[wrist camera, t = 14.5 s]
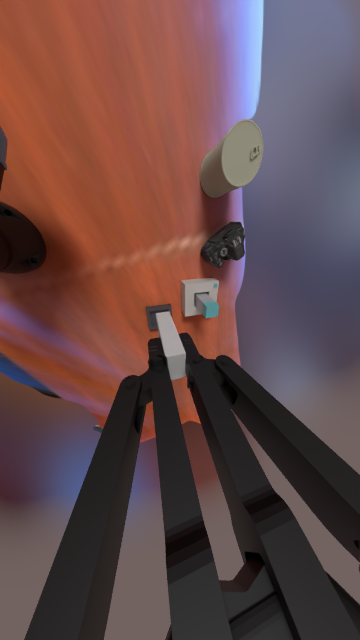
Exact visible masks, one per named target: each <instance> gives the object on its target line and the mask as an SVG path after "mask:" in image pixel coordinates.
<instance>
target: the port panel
mask: <svg viewBox="0 0 360 640" xmlns="http://www.w3.org/2000/svg"><path fill="white" fill-rule="evenodd" d="M218 285H219V281H218V280H216V279H214V278H213V277H212V278H202V279H192V280H181V300H182V312H183V314H184V316H185V317H186V316H193V315H200V314H202V313H201V312H200V310H199V309H198V308H197V307H196V305H195V304H194V293H201V292H205V293H206V294H208V295H209V296H210V297H211V298H212V299H213V300H214V301H215V302H216V301H217V293H218Z"/></svg>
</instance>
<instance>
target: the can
mask: <svg viewBox="0 0 360 640" xmlns="http://www.w3.org/2000/svg"><path fill="white" fill-rule="evenodd" d="M262 156H263V138H262V134H261V131H260V129H259V127H258V126H257V124H256V123H255V122H253V121H252V120H249V119H243V120H240V121H238V122H237V123H236V124H234V125H233V126H232V128H231V129H230V130H229V132H228V133H227V134H226V135H225V136H224V138H223V139H222V140H221V141H220V142H219V143H218V144H217V145H216V146H215V148H214V149H213V150H212V151H210V152H209V153H208V154H207V155H206V156H205V158H204V160H203V162H202V165H201V169H200V182H201V186H202V189H203V191H204V192H205V193H206V194H207V195H208V196H209V197H212V198H218V197H220V196H222V195H223V194H225V193H228V192H230V191H232V190H235V189H237V188H239V187H243V186H245V185H247V184H248V183H249V182H251V180H252V179H253V178H254V177H255V175H256V174H257V172H258V170H259V167H260V164H261V161H262Z"/></svg>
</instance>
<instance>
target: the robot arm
mask: <svg viewBox="0 0 360 640" xmlns="http://www.w3.org/2000/svg"><path fill="white" fill-rule="evenodd" d="M6 153H7V138H6V136H5V134H4V132H3V130H2V128H1V127H0V190H1V184H2V179H3V174H4V170H7V165H6V163H5V161H6ZM45 257H46V247H45V243H44V240H43V238H42V236H41V234H40V232H39V231H38V229H37V228H36V227H35V226H34V224H33V223H32V222H31V221H30V220H29V219H28V218H27V217H26V216H24V215H23V214H22V213H21V212H19V211H18V210H16V209H15V208H13V207H11V206H9V205H7V204H5V203H3V202H0V272H3V273H26V272H29V271H32V270H35V269H37V268H38V267H40V266H41V265H42V263H43V262H44V260H45ZM156 319H157V327H158V334H159V338H154V339H150V340H149V342H148V350H149V360H148V364H149V369H148V370H147V371H146V372H145V373H144V374H142V375H140V376H136V375H131V376H128V377H126V378H125V379H123V380H122V382H121V384H120V386H119V389H118V391H117V394H116V397H115V399H114V402H113V405H112V407H111V410H110V413H109V415H108V418H107V421H106V423H105V426H104V429H103V431H102V434H101V437H100V439H99V442H98V445H97V447H96V450H95V453H94V455H93V458H92V461H91V464H90V466H89V469H88V472H87V474H86V477H85V479H84V482H83V485H82V488H81V490H80V493H79V495H78V498H77V501H76V503H75V506H74V509H73V511H72V514H71V517H70V519H69V522H68V525H67V528H66V530H65V533H64V535H63V538H62V541H61V543H60V546H59V549H58V551H57V554H56V557H55V559H54V562H53V565H52V567H51V570H50V572H49V575H48V578H47V581H46V583H45V586H44V588H43V591H42V594H41V597H40V599H39V602H38V605H37V607H36V610H35V612H34V615H33V618H32V620H31V623H30V626H29V628H28V631H27V634H26V636H25V639H24V640H104V634H105V630H106V625H107V620H108V614H109V609H110V603H111V598H112V592H113V587H114V581H115V576H116V569H117V565H118V559H119V553H120V547H121V542H122V537H123V531H124V526H125V520H126V515H127V509H128V503H129V498H130V492H131V487H132V481H133V476H134V470H135V465H136V459H137V454H138V448H139V443H140V437H141V432H142V426H143V421H144V415H145V410H146V404H148V403H149V402H151V401H153V411H154V422H155V433H156V444H157V454H158V466H159V476H160V488H161V498H162V509H163V520H164V531H165V545H166V568H167V580H168V592H169V603H170V615H171V625H170V628H169V631H168V633H167V637H166V639H165V640H360V605H359V604H358V603H357V602H356V601H355V600H354V599H353V598H352V597H351V596H350V595H349V594H348V593H347V592H346V591H345V590H344V589H343V588H342V587H341V586H340V585H339V584H338V583H337V582H336V581H335V580H334V579H333V578H332V577H331V576H330V575H329V574H328V573H327V572H326V571H324V569H323V567H322V565H321V563H320V562H319V560H318V558H317V556H316V554H315V552H314V551H313V549H312V547H311V545H310V544H309V542H308V540H307V538H306V536H305V534H304V533H303V531H302V529H301V527H300V525H299V523H298V522H297V520H296V518H295V516H294V515H293V513H292V511H291V510H290V508H289V507H288V505H287V504H286V503H285V501H284V500H283V499H282V498H281V497H280V496H279V495H278V494H277V493H276V492H275V491H274V489H273V488H272V486H271V484H270V483H269V481H268V479H267V477H266V475H265V473H264V471H263V469H262V467H261V465H260V464H259V462H258V460H257V458H256V456H255V454H254V452H253V450H252V448H251V446H250V444H249V443H248V441H247V439H246V437H245V435H244V433H243V431H242V429H241V427H240V425H239V424H238V422H237V420H236V418H235V416H234V414H233V412H232V410H233V411H234V413H235V414H236V415H237V416H238V418H239V419H240V420H241V422H242V423H243V424H244V425H245V427H246V428H247V429H248V431H249V432H250V433H251V434H252V436H253V437H254V438H255V439H256V441H257V442H258V443H259V444H260V446H261V447H262V448H263V450H264V451H265V452H266V453H267V455H268V456H269V457H270V458H271V460H272V461H273V462H274V463H275V464H276V466H277V467H278V469H279V470H280V471H281V472H282V474H283V475H284V476H285V477H286V479H288V481H289V482H290V484H291V485H292V486H293V487H294V489H295V490H296V491H297V493H298V494H299V495H300V496H301V497H302V499H303V500H304V501H305V503H306V504H307V505H308V506H309V508H310V509H311V510H312V512H313V513H314V514H315V515H316V516H317V518H318V519H319V520H320V521H321V522H322V524H323V525H324V526H325V527H326V528H327V529H328V531H329V532H330V533H331V534H332V535H333V536H334V537H335V538H336V539H337V540H338V541H339V542H340V543H341V544H342V545H343V547H344V548H345V549H346V550H347V551H349V552H350V553H351V554H352V555H353V556H354V557H355V558H356V559H357V560H358V561H359V562H360V475H359V474H358V473H357V472H356V471H355V470H353V469H352V468H351V467H350V466H349V465H348V464H347V463H346V462H345V461H344V460H343V459H342V458H340V457H339V456H338V455H337V454H336V453H335V452H334V451H333V450H332V449H330V448H329V447H328V446H327V445H326V444H325V443H324V442H323V441H321V440H320V439H319V438H318V437H317V436H316V435H315V434H314V433H313V432H312V431H311V430H309V429H308V428H307V427H306V426H305V425H304V424H303V423H302V422H301V421H300V420H298V419H297V418H296V417H295V416H294V415H293V414H292V413H291V412H290V411H288V410H287V409H286V408H285V407H284V406H283V405H282V404H281V403H280V402H279V401H277V400H276V399H275V398H274V397H273V396H272V395H271V394H270V393H269V392H267V391H266V390H265V389H264V388H263V387H262V386H261V385H260V384H259V383H257V382H256V381H255V380H254V379H253V378H252V377H251V376H250V375H249V374H248V373H247V372H245V371H244V370H243V369H242V368H241V367H240V366H239V365H238V364H237V363H236V362H234V361H233V360H232V359H231V358H230V357H228V356H225V355H220V356H218V357H216V360H214V359H206V358H204V357H203V356H202V355H200V354H199V352H198V350H197V348H196V346H195V344H194V343H193V340H192V338H191V336H190V335H189V334H188V333H181V334H178V332H177V330H176V327H175V325H174V322H173V320H172V317H171V315H170V312H169V311H168V312H161V313H156ZM186 375H187V387H188V388H190V391H191V395H192V398H193V401H194V404H195V407H196V410H197V413H198V416H199V419H200V422H201V425H202V428H203V431H204V434H205V437H206V440H207V443H208V446H209V449H210V452H211V455H212V459H213V461H214V465H215V468H216V471H217V474H218V477H219V480H220V483H221V486H222V489H223V492H224V495H225V498H226V501H227V504H228V507H229V511H230V515H231V520H232V526H233V529H234V533H235V536H236V539H237V543H238V546H239V549H240V552H241V555H242V558H243V561H244V565H243V567H242V568H241V570H240V571H239V572H238V574H237V575H236V577H235V578H234V579H233V580H231V581H221V580H219V579H218V575H217V570H216V566H215V562H214V558H213V553H212V550H211V545H210V542H209V538H208V535H207V531H206V528H205V525H204V521H203V517H202V513H201V508H200V504H199V499H198V495H197V491H196V486H195V482H194V478H193V473H192V469H191V465H190V460H189V456H188V451H187V447H186V443H185V439H184V434H183V430H182V425H181V421H180V417H179V412H178V408H177V403H176V399H175V395H174V390H173V386H172V382H171V380H175V379H179V378H183V377H186ZM231 409H232V410H231ZM359 571H360V565H359Z"/></svg>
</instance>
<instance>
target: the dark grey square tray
mask: <svg viewBox="0 0 360 640" xmlns="http://www.w3.org/2000/svg"><path fill="white" fill-rule="evenodd" d="M146 311H147V317H148V323H149V329H150V330H153V329H158V327H157V319H156V313H161V312H168V311H169V312H170V315H171V317H172V313H171V305H170V304H166V305H158V306H150V307H146Z"/></svg>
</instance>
